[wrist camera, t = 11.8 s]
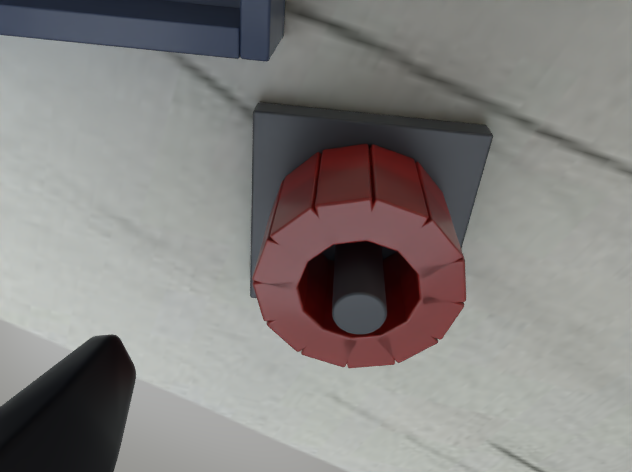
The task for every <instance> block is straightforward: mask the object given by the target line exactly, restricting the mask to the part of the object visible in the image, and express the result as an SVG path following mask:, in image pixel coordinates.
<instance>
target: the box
mask: <svg viewBox="0 0 632 472" xmlns="http://www.w3.org/2000/svg"><path fill="white" fill-rule="evenodd" d="M284 16H285V0H0V35H7V36H17V37H27V38H37V39H46V40H56V41H66V42H76V43H86V44H96V45H106V46H116V47H126V48H136V49H146V50H156V51H166V52H176V53H186V54H195V55H205V56H215V57H225V58H235V59H238V58H240V57H241V58H242V59H247V60H257V61H269V59H270V57H271V56H272V54H273V52H274V51H275V49H276V47H277V46H278V44H279V42H280V40H281V39H282V38H283V36H284Z"/></svg>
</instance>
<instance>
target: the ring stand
mask: <svg viewBox="0 0 632 472" xmlns="http://www.w3.org/2000/svg"><path fill="white" fill-rule="evenodd" d="M492 138H493V134H492V133H491V131H490V130H489V128H488V127H487V126H486V125H479V124H469V123H459V122H449V121H439V120H429V119H419V118H410V117H400V116H390V115H380V114H370V113H360V112H350V111H341V110H331V109H321V108H311V107H301V106H291V105H281V104H272V103H262V102H259V103H258V104H257V106H256V108H255V110H254V112H253V159H252V218H251V277H250V296H251V297H252V298H257V297H256V294H255V290H254V287H253V280H252V277H253V273H254V270H255V266H256V263H257V259H258V256H259V252H260V248H261V245H262V241H263V238H264V234H265V231H266V227H267V223H268V220H269V216H270V213H271V210H272V208H273V205H274V202H275V199H276V196H277V194H278V191H279V188H280V185H281V182H282V181H283V180H285V177H286V176H287V175H288V174H290V173H291V172H292V171H294V170H295V169H296V168H297V167H299V166H300V165H301V164H303V163H304V162H305V161H307V160H308V159H309V158H310V157H312V156H313V155H314V154H316V153H317V152H319V153H321V155H322V151H323V150H326V149H333V148H340V147H346V146H353V145H360V144H368V145H369V148H370V146H371V145H372V144H374V145H377V146H380V147H382V148H385V149H388V150H391V151H393V152H396V153H399V154H401V155H404V156H407V157H410V158H412V159H414V161H415V163H416V162H419V163H420V165H421V166H422V167H423V168H424V170H425V171H426V172H427V173H428V175H429V176H430V177H431V179H432V180H433V181H434V182H435V184H436V185H437V186H438V187H439V189H440V190H441V191H442V192H443V195H444V198H445V201H446V204H447V207H448V210H449V213H450V217H451V220H452V223H453V226H454V229H455V232H456V235H457V238H458V241H459V244H460V247H462V244H463V240H464V237H465V233H466V230H467V226H468V223H469V219H470V216H471V212H472V209H473V205H474V202H475V198H476V195H477V191H478V188H479V184H480V181H481V177H482V174H483V170H484V167H485V163H486V159H487V156H488V152H489V149H490V145H491V142H492ZM396 252H397V251H395V250H392V249H389V248H386V247H383V246H380V245H377V244H374V243H371V242H368V241H362V242H354V243H345V244H337V245H333V246H331V247H330V248H328V249H327V250H325V251H324V252H322V254H323V255H324V256H325V257H326V258H327V259H328V260H332V261H335V263H334V281H333V300H332V317H333V320H334V321H335V323H336V324H337V326H338V327H340V328H341V329H342V330H344V331H346V332H348V333H352V334H368V333H371V332H374V331H376V330H377V329H379V328H380V327H381V326H382V325H383V323H384V322H385V320H386V317H387V305H386V293H385V282H384V270H383V260H384V259H386V258H388V257H389V256H391V255H392V254H394V253H396Z"/></svg>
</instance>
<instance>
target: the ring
mask: <svg viewBox="0 0 632 472" xmlns="http://www.w3.org/2000/svg"><path fill="white" fill-rule="evenodd" d="M362 241H368V242H371V243H374V244H377V245H380V246H383V247H386V248H389V249H392V250H395V251H397V252H396V253H394V254H392V255H391V256H389V257H388V258H386V259H384V260H383V270H384V282H385V293H386V305H387V317H386V320H385V322H384V323H383V325H382V326H381V327H380V328H379V329H377V330H376V331H374V332H371V333H368V334H352V333H348V332H346V331H344V330H342V329H341V328H340V327H338V326H337V324H336V323H335V321H334V320H333V317H332V300H333V281H334V263H335V261H332V260H328V259H327V258H326V257H325V256H324V255H323V254H322V252H324V251H325V250H327V249H328V248H330V247H331V246H333V245H337V244H345V243H354V242H362ZM252 280H253V287H254V290H255V294H256V297H257V300H258V303H259V307H260V310H261V313H262V316H263V319H264V321H267V325H268V326H269V327H270V328H271V329H272V330H273V331H274V332H275V333H276V334H278V335H279V336H280V337H281V338H282V339H283V340H284V341H285V342H287V343H288V344H289V345H290V346H291V347H292V348H293V349H295V350H296V351H297V352H299V351H301V350H302V351H301V353H302V355H305V356H308V357H311V358H315V359H318V360H321V361H325V362H328V363H331V364H334V365H338V366H341V367H345V366H346V364H347V365H348V368H357V367H370V366H382V365H394V364H395V360H396V361H397V362H398V363H400V362H402V361H404V360H406V359H408V358H410V357H412V356H413V355H415V354H417V353H419V352H421V351H423V350H425V349H427V348H429V347H431V346H433V345H435V344H437V343H438V339H442V338H443V336H444V335H445V333H446V332H447V331H448V329H449V328H450V326H451V325H452V323H453V322H454V320H455V319H456V317H457V316H458V314H459V313H460V312H461V310H462V309H463V307H464V302H465V301H466V278H465V260H464V256H463V253H462V250H461V247H460V244H459V241H458V238H457V235H456V232H455V229H454V226H453V223H452V220H451V217H450V213H449V210H448V207H447V204H446V201H445V198H444V195H443V192H442V191H441V190H440V189H439V187H438V186H437V185H436V184H435V182H434V181H433V180H432V179H431V177H430V176H429V175H428V173H427V172H426V171H425V170H424V168H423V167H422V166H421V165H420V163H419V162H416V163H415V161H414V159H412V158H410V157H407V156H404V155H401V154H399V153H396V152H393V151H391V150H388V149H385V148H382V147H380V146H377V145H374V144H372V145H371V146H370V148H369V145H368V144H360V145H353V146H346V147H340V148H333V149H326V150H323V151H322V155H321V153H319V152H317V153H316V154H314V155H313V156H312V157H310V158H309V159H308V160H307V161H305V162H304V163H303V164H301V165H300V166H299V167H297V168H296V169H295V170H294V171H292V172H291V173H290V174H288V175H287V176H286V177H285V180H283V181H282V182H281V185H280V188H279V191H278V194H277V196H276V199H275V202H274V205H273V208H272V210H271V213H270V216H269V220H268V223H267V227H266V231H265V234H264V238H263V241H262V245H261V248H260V252H259V256H258V259H257V263H256V266H255V270H254V273H253V277H252Z"/></svg>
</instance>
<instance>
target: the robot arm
mask: <svg viewBox="0 0 632 472" xmlns="http://www.w3.org/2000/svg"><path fill="white" fill-rule="evenodd" d="M135 379H136V370H135V366H134V364H133V362H132V360H131V358H130V356H129V355H128V353H127V351H126V349H125V347H124V345H123V343H122V341H121V340H120V338H119V337H118V336H116V335H101V336H95V337H92V338H90V339H89V340H88V341H86V342H85V343H84V344H82V345H81V346H80V347H78V348H77V349H76V350H74V351H73V352H72V353H70V354H69V355H68V356H67V357H65V358H64V359H63V360H61V361H60V362H59V363H57V364H56V365H55V366H53V367H52V368H51V369H50V370H48V371H47V372H45V373H44V374H43V375H42V376H40V377H39V378H38V379H37V380H35V381H34V382H32V383H31V384H30V385H28V386H27V387H26V388H25V389H23V390H22V391H20V392H19V393H18V394H17V395H15V396H14V397H13V398H11V399H10V400H9V401H7V402H6V403H5V404H4V405H2V406H1V407H0V472H113V471H114V468H115V465H116V461H117V458H118V454H119V449H120V446H121V442H122V437H123V433H124V428H125V424H126V419H127V415H128V410H129V406H130V402H131V397H132V393H133V388H134V384H135Z"/></svg>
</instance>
